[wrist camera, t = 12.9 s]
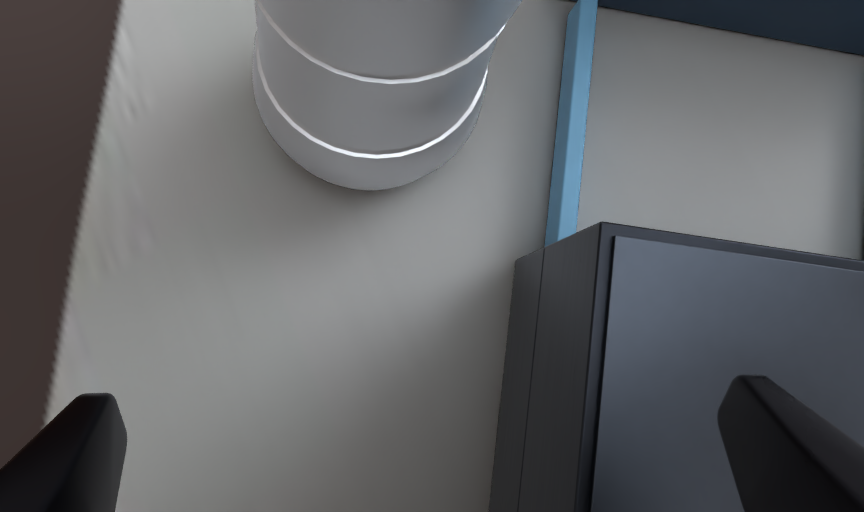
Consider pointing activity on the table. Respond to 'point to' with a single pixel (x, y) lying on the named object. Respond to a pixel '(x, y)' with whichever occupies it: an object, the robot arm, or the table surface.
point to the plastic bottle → (373, 82)
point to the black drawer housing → (662, 364)
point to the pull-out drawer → (695, 3)
